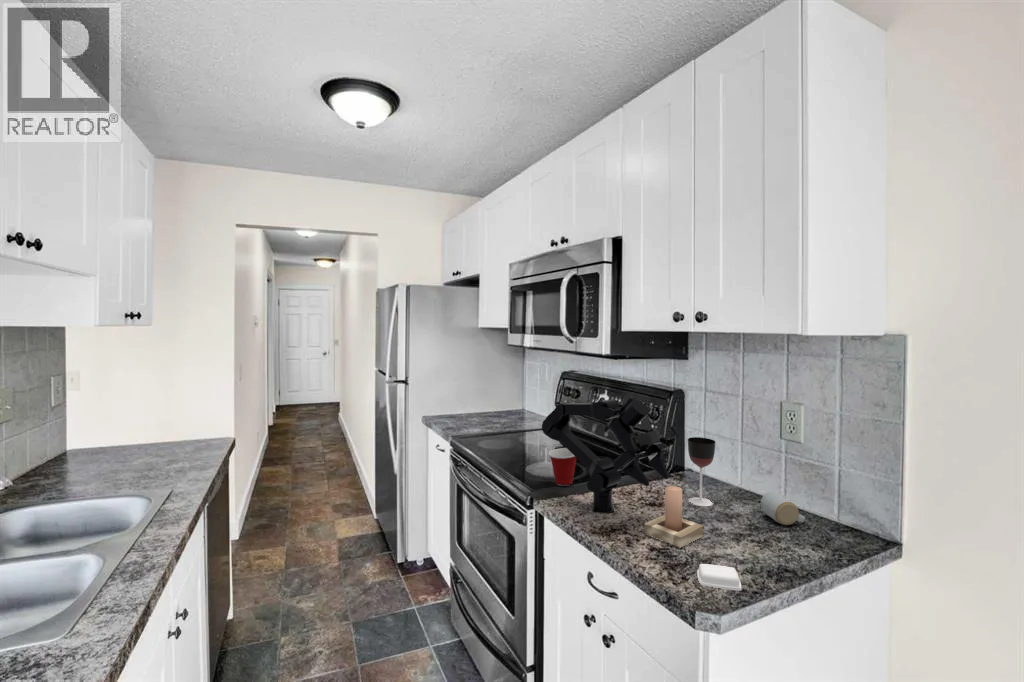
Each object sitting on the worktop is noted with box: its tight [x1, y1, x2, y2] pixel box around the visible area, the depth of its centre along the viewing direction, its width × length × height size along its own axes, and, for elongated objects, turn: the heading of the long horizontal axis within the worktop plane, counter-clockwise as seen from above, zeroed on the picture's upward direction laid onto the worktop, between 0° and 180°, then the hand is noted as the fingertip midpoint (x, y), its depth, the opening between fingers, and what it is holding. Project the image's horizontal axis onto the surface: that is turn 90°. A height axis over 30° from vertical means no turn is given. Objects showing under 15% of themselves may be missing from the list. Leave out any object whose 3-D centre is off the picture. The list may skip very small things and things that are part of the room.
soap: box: [696, 563, 742, 592], centre depth 110 cm, size 9×7×3 cm
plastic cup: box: [548, 447, 578, 485], centre depth 173 cm, size 11×11×12 cm
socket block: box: [644, 514, 704, 549], centre depth 132 cm, size 11×11×3 cm
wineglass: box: [687, 436, 716, 507], centre depth 156 cm, size 8×9×20 cm
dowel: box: [664, 485, 683, 532], centre depth 132 cm, size 4×4×12 cm
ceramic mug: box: [760, 490, 806, 526], centre depth 142 cm, size 11×8×8 cm
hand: (657, 481), depth 136 cm, fingers open, 9 cm apart
